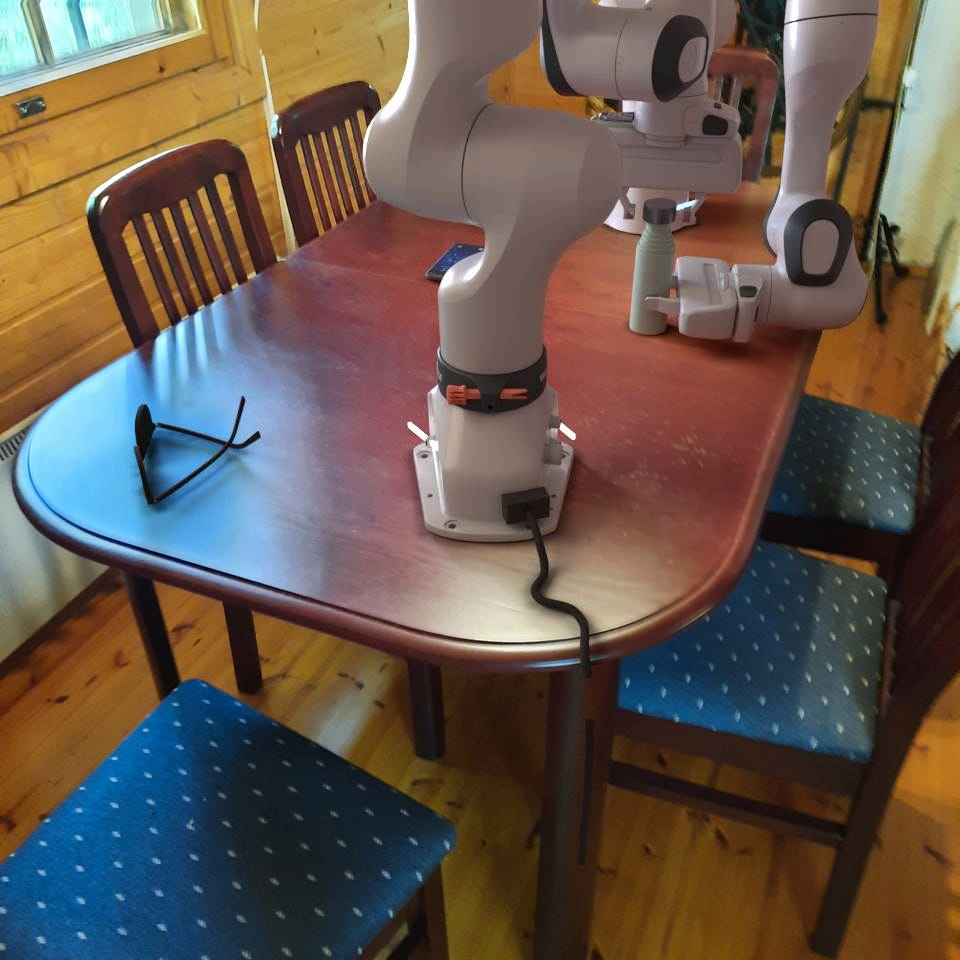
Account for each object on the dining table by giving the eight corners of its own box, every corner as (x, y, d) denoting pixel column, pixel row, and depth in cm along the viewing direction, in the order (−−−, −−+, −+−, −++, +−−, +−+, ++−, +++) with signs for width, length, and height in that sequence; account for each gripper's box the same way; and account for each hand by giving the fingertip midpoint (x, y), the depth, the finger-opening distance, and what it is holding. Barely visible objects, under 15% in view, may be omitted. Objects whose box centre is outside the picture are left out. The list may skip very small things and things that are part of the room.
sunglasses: (270, 486, 97) (262, 449, 94) (137, 510, 94) (125, 474, 91) (257, 411, 110) (250, 377, 107) (140, 430, 107) (130, 396, 104)
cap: (657, 211, 120) (658, 195, 118) (682, 219, 117) (684, 203, 116) (635, 218, 117) (636, 203, 116) (660, 227, 115) (662, 211, 113)
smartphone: (493, 246, 151) (464, 280, 139) (493, 251, 151) (464, 285, 140) (454, 241, 153) (422, 274, 141) (454, 246, 153) (423, 279, 142)
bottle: (672, 325, 127) (687, 205, 116) (653, 338, 124) (666, 216, 113) (642, 315, 130) (653, 197, 119) (622, 328, 127) (632, 208, 116)
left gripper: (584, 116, 109) (579, 223, 117) (750, 123, 104) (733, 233, 113) (592, 104, 114) (586, 207, 122) (751, 110, 109) (734, 217, 117)
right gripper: (739, 247, 128) (646, 244, 130) (754, 305, 112) (647, 301, 114) (733, 286, 132) (642, 283, 134) (747, 348, 116) (643, 344, 117)
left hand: (658, 220), depth 117 cm, fingers open, 7 cm apart
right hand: (644, 292), depth 124 cm, fingers closed on bottle, 5 cm apart
